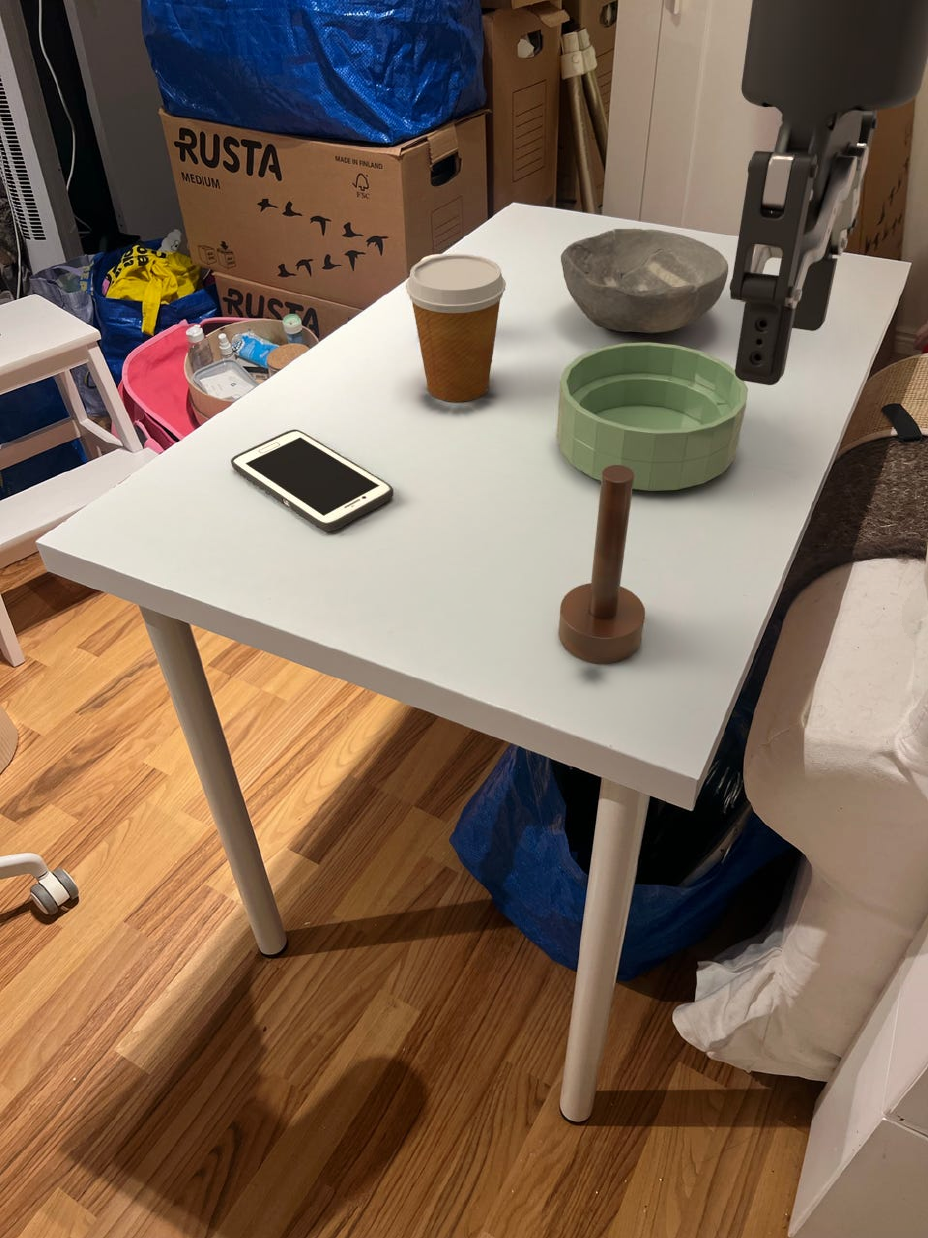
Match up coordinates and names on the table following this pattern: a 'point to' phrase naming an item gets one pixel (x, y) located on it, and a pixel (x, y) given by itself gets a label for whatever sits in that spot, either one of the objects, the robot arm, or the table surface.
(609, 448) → the mixing bowl
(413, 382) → the table surface
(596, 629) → the wooden rod on disc
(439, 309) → the disposable coffee cup
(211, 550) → the table surface
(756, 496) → the table surface
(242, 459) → the cell phone
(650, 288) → the bowl
